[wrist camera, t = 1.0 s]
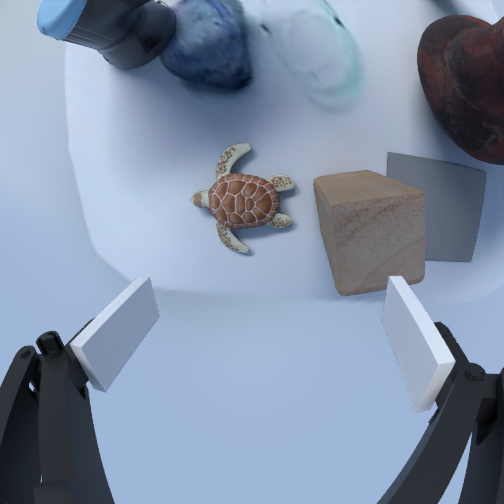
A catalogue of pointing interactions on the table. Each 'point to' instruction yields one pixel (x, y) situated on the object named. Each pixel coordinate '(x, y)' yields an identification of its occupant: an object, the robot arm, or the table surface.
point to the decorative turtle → (242, 199)
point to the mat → (444, 203)
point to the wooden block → (371, 230)
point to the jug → (466, 82)
